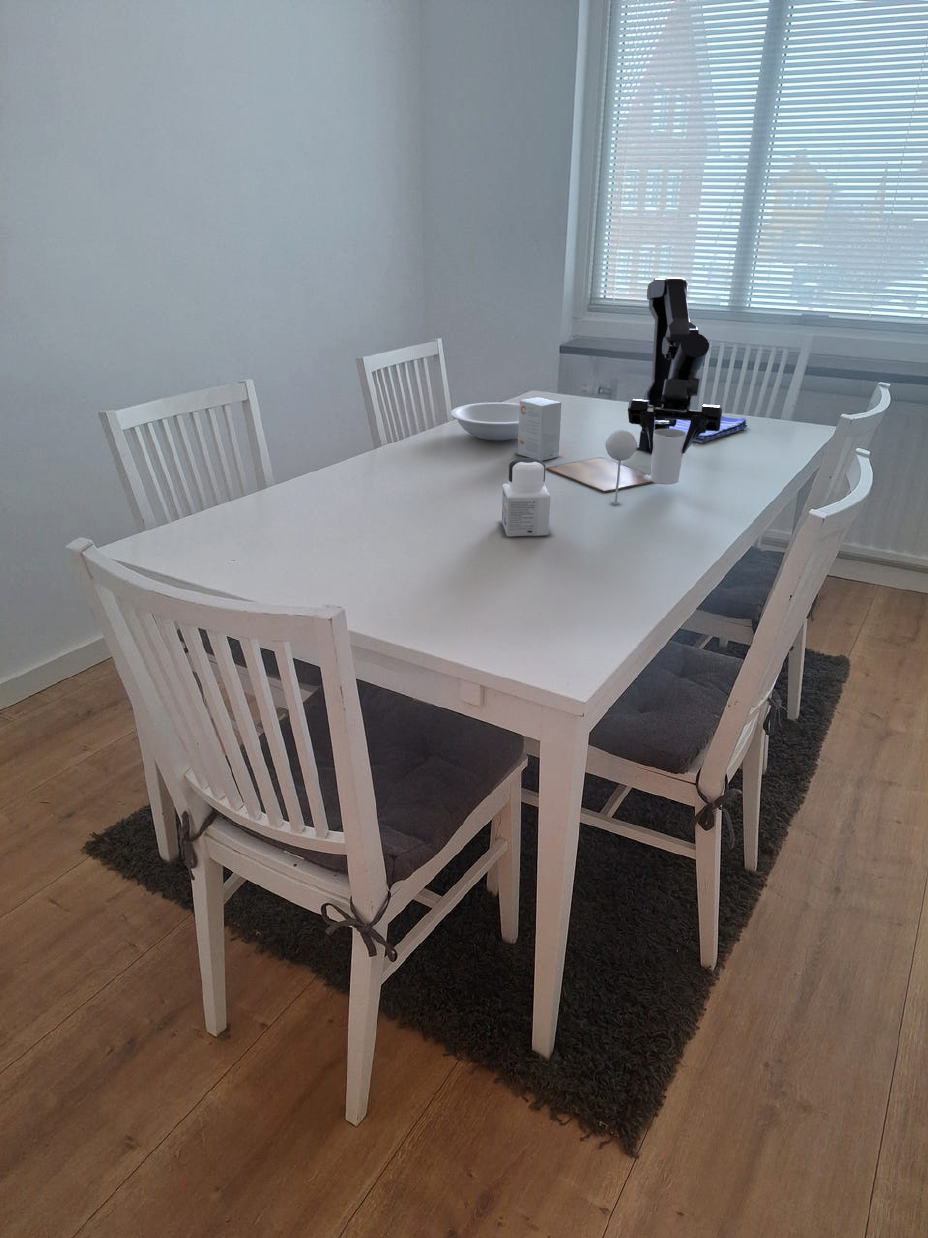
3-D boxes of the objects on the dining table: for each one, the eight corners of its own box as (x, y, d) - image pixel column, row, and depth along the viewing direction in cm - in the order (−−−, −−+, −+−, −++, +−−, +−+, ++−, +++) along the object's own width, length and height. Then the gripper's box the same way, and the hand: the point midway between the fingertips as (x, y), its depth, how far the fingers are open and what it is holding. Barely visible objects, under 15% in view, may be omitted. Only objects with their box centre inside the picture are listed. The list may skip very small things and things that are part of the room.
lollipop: (633, 501, 165) (640, 428, 159) (628, 510, 160) (636, 435, 154) (603, 498, 167) (609, 425, 160) (597, 507, 162) (603, 432, 155)
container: (501, 522, 154) (503, 455, 148) (541, 521, 155) (545, 454, 149) (506, 537, 147) (508, 467, 141) (548, 536, 148) (552, 466, 142)
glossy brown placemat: (600, 459, 193) (600, 457, 193) (660, 480, 178) (660, 479, 178) (546, 469, 186) (546, 467, 185) (604, 492, 170) (604, 490, 170)
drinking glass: (683, 477, 172) (689, 430, 167) (676, 486, 166) (683, 438, 162) (652, 473, 174) (657, 427, 169) (644, 482, 169) (649, 434, 164)
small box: (559, 457, 195) (562, 402, 189) (540, 461, 191) (542, 405, 185) (535, 450, 200) (538, 396, 194) (516, 454, 196) (518, 399, 191)
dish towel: (748, 428, 221) (750, 418, 219) (703, 444, 206) (704, 433, 204) (693, 418, 232) (694, 408, 230) (645, 432, 217) (647, 421, 215)
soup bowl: (485, 422, 225) (485, 398, 222) (560, 435, 213) (562, 410, 210) (432, 440, 208) (431, 414, 205) (511, 455, 195) (511, 428, 192)
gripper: (634, 358, 165) (619, 425, 161) (729, 365, 160) (715, 434, 156) (636, 390, 176) (622, 453, 172) (725, 397, 170) (713, 463, 166)
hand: (667, 450), depth 166 cm, fingers closed on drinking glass, 6 cm apart
